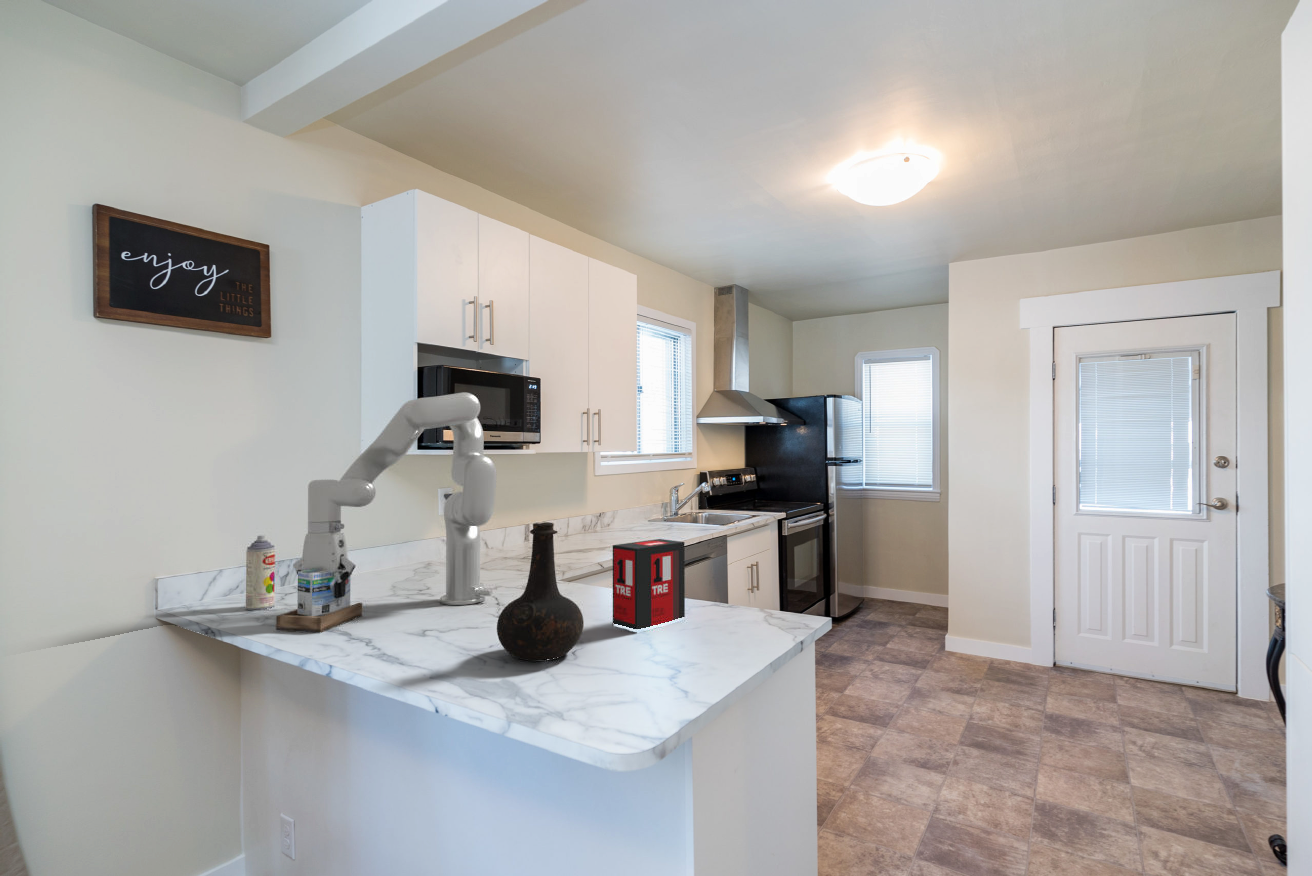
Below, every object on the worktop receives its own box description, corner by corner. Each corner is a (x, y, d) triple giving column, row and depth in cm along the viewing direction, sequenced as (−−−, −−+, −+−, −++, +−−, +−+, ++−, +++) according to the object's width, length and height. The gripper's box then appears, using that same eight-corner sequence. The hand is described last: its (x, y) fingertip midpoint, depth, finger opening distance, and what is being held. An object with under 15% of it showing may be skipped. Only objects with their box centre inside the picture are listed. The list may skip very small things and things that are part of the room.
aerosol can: (265, 610, 177) (266, 537, 177) (240, 610, 176) (241, 537, 177) (279, 604, 184) (280, 534, 184) (254, 604, 183) (255, 534, 184)
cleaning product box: (637, 633, 153) (637, 548, 154) (612, 626, 160) (612, 545, 160) (684, 620, 165) (684, 542, 165) (660, 614, 171) (659, 538, 172)
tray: (362, 616, 170) (362, 602, 170) (320, 632, 155) (320, 617, 155) (321, 614, 172) (321, 601, 172) (276, 630, 157) (276, 615, 157)
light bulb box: (311, 617, 158) (311, 573, 158) (296, 614, 162) (296, 571, 162) (351, 608, 167) (351, 566, 168) (336, 605, 171) (336, 564, 171)
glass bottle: (479, 663, 132) (480, 525, 132) (527, 639, 148) (527, 517, 149) (556, 673, 125) (556, 528, 126) (597, 647, 142) (597, 520, 143)
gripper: (364, 526, 167) (364, 594, 167) (304, 525, 170) (304, 592, 170) (345, 530, 160) (345, 601, 159) (283, 529, 163) (282, 598, 162)
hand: (324, 596), depth 164 cm, fingers closed on light bulb box, 8 cm apart
